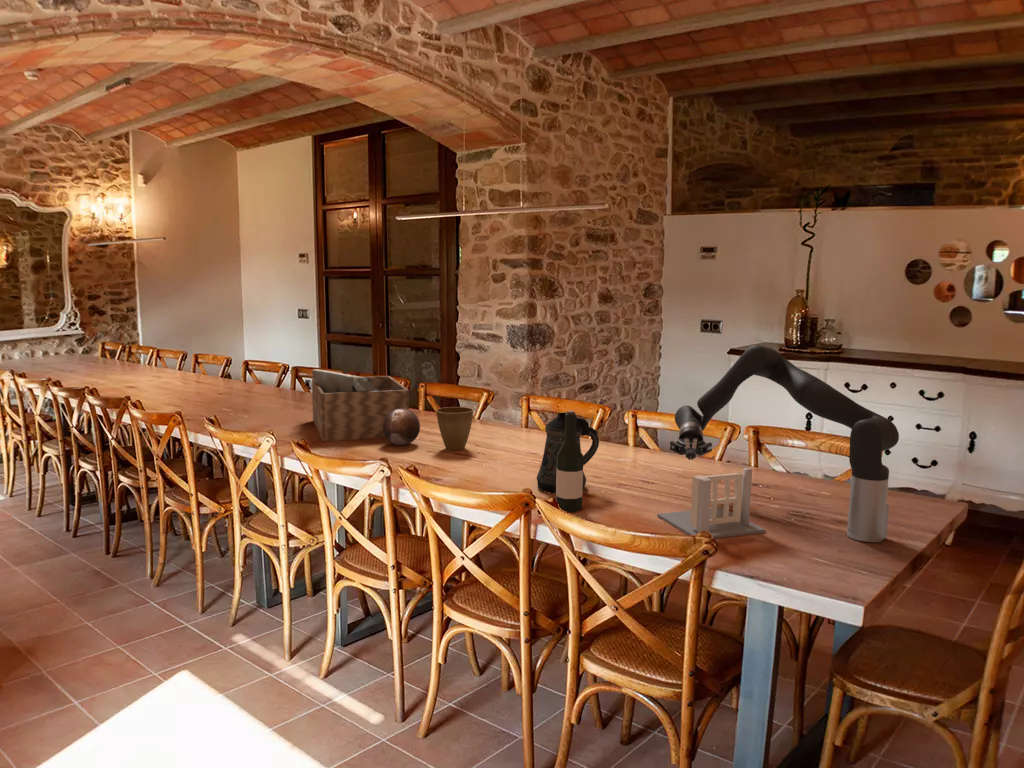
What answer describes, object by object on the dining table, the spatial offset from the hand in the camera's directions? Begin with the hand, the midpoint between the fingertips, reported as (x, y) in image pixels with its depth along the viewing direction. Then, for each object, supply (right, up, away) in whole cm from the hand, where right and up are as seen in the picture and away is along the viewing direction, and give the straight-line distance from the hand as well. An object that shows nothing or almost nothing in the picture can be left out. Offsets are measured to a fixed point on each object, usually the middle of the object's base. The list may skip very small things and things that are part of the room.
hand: (690, 456), depth 227 cm
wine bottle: (-35, -17, +11) cm, 40 cm away
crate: (-121, +1, +125) cm, 174 cm away
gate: (+5, -18, -8) cm, 21 cm away
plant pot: (-75, -5, +87) cm, 115 cm away
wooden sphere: (-97, -4, +93) cm, 135 cm away
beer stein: (-34, -14, +34) cm, 50 cm away
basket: (-120, +1, +125) cm, 173 cm away
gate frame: (+5, -19, -2) cm, 20 cm away
